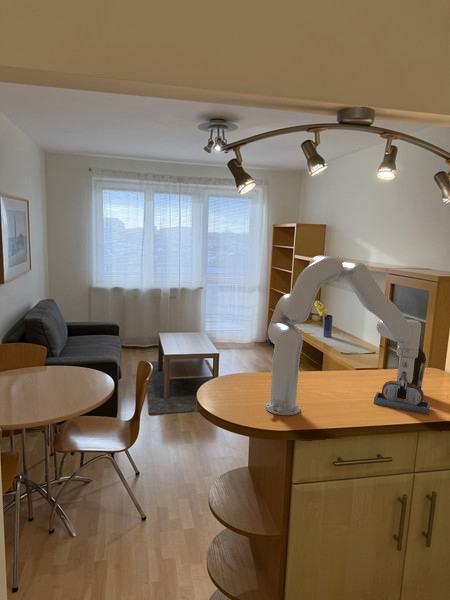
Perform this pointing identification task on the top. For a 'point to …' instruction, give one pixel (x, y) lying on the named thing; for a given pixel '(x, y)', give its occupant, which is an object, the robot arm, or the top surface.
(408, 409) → the tray
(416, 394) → the tin
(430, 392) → the top surface
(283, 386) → the robot arm
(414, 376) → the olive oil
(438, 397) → the top surface
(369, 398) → the top surface
